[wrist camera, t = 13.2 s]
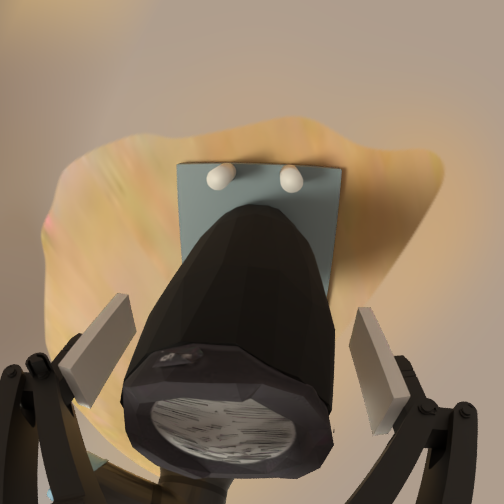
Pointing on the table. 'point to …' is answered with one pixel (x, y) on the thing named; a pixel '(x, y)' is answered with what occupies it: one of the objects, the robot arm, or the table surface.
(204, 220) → the pin pad
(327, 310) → the portable speaker
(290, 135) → the table surface
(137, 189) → the table surface
